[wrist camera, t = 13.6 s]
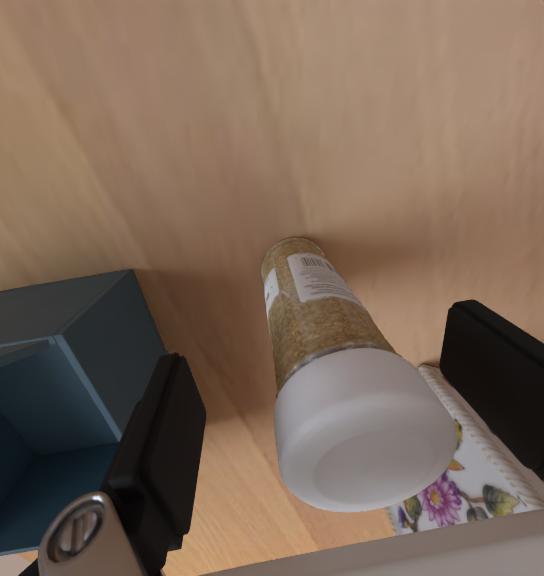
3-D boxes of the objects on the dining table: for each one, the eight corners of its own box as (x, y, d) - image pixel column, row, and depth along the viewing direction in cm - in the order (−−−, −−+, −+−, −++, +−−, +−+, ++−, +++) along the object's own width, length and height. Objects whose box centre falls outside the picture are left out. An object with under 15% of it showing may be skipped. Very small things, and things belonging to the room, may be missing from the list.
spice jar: (247, 271, 19) (239, 484, 7) (293, 220, 17) (391, 367, 5) (295, 309, 20) (360, 538, 8) (340, 264, 19) (501, 457, 7)
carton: (-88, 306, 18) (-286, 392, 11) (132, 268, 18) (61, 333, 11) (38, 454, 25) (-40, 562, 18) (197, 428, 25) (178, 527, 18)
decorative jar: (452, 463, 30) (688, 825, 14) (358, 447, 28) (508, 858, 11) (527, 384, 25) (1018, 790, 9) (421, 357, 23) (824, 834, 7)
